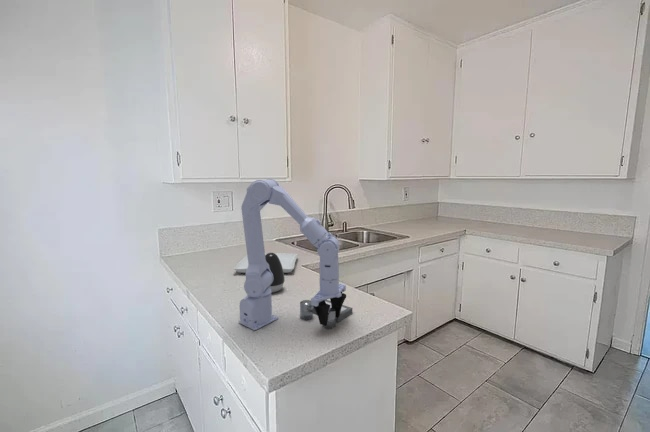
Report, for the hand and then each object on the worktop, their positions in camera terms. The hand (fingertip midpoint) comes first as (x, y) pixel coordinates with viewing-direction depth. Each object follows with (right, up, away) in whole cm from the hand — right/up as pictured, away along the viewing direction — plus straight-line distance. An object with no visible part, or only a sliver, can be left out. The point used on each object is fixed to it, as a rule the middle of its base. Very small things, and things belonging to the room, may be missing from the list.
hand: (329, 320), depth 94 cm
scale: (0, 0, +9) cm, 9 cm away
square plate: (-29, +6, +59) cm, 66 cm away
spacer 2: (0, -2, 0) cm, 2 cm away
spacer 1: (-7, -1, +6) cm, 9 cm away
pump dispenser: (-22, +2, +28) cm, 36 cm away
